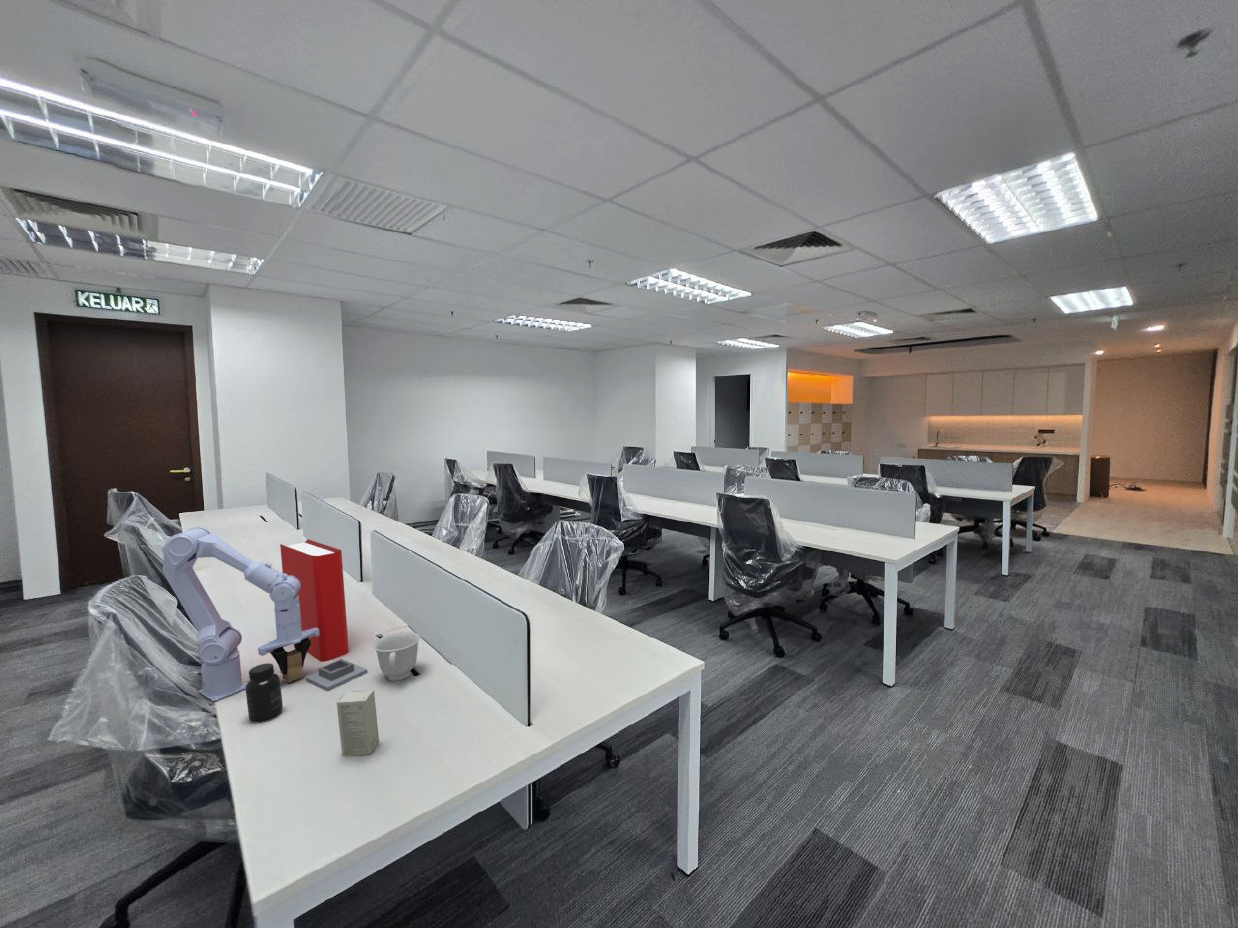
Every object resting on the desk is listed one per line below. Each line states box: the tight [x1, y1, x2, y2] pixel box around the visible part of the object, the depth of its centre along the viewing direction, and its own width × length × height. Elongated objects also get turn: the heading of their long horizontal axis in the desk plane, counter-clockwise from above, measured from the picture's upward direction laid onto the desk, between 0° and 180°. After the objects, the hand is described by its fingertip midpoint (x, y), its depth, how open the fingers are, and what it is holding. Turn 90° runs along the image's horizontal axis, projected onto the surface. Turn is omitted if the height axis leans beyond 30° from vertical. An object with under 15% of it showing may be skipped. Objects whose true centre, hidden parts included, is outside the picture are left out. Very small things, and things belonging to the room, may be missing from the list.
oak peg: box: [281, 648, 304, 683], centre depth 137 cm, size 4×4×7 cm
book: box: [279, 539, 350, 663], centre depth 157 cm, size 27×8×32 cm, turn 52°
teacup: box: [372, 631, 421, 681], centre depth 136 cm, size 12×15×10 cm
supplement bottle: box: [244, 663, 284, 723], centre depth 120 cm, size 7×7×12 cm
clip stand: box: [305, 658, 368, 692], centre depth 138 cm, size 11×11×3 cm
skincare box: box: [336, 689, 380, 757], centre depth 106 cm, size 6×4×12 cm
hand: (292, 669), depth 137 cm, fingers closed on oak peg, 3 cm apart
